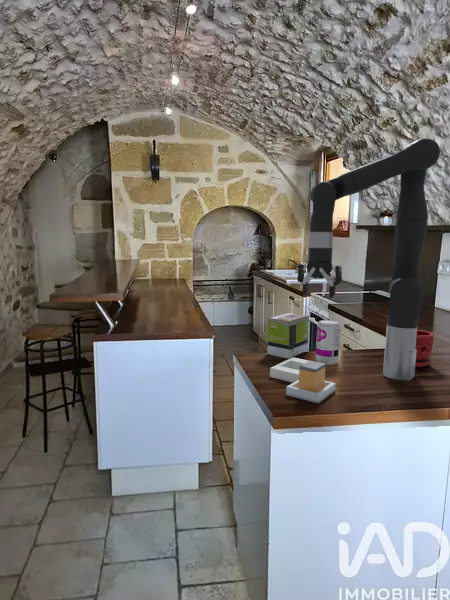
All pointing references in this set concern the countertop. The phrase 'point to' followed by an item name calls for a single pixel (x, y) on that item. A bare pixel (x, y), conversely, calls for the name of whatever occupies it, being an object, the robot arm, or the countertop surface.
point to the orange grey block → (312, 376)
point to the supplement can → (327, 342)
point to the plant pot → (423, 347)
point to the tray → (310, 392)
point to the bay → (287, 369)
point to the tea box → (288, 335)
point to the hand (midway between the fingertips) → (318, 296)
